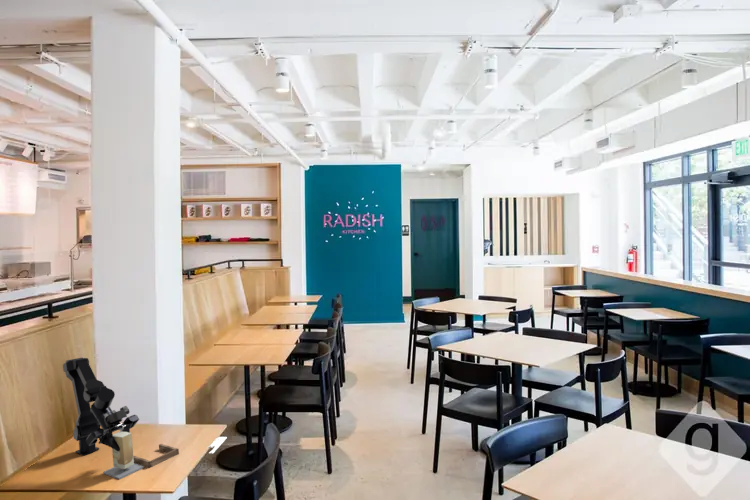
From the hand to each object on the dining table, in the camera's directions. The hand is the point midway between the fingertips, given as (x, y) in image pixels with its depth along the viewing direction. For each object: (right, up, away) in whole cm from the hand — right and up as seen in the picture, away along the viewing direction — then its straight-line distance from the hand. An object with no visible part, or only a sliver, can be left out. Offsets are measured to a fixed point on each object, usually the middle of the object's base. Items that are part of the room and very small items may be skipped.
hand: (124, 447), depth 186 cm
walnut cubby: (+6, -8, +11) cm, 15 cm away
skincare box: (-1, -7, +1) cm, 7 cm away
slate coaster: (-1, -9, +1) cm, 9 cm away
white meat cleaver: (+27, -8, +21) cm, 35 cm away
